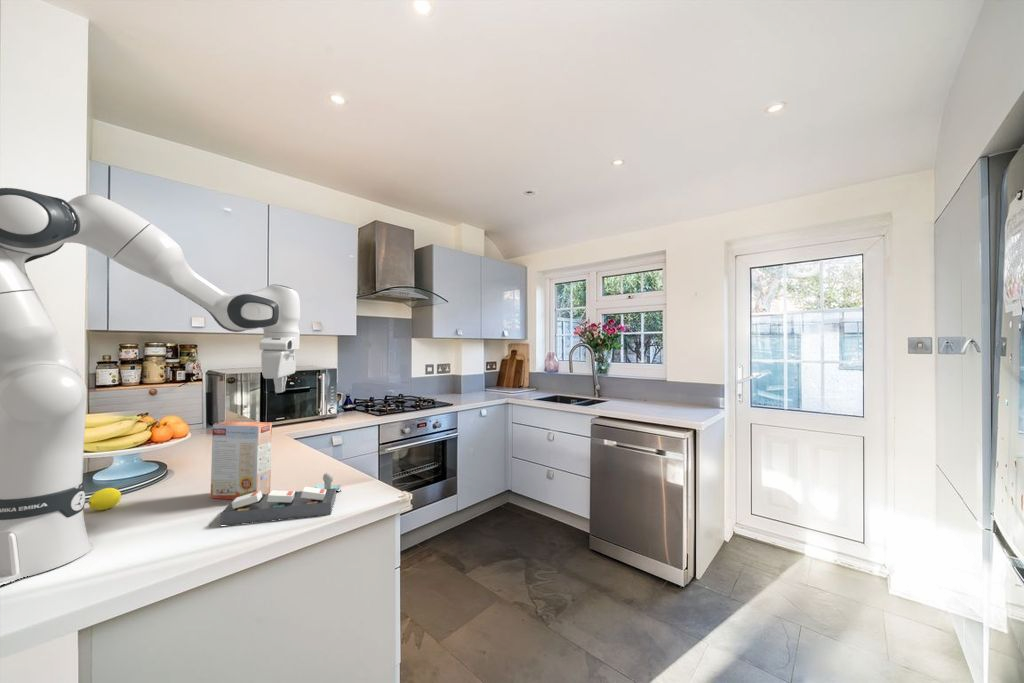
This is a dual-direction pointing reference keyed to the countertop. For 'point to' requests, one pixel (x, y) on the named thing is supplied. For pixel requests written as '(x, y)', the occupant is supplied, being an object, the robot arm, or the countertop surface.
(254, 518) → the power strip
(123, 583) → the countertop surface
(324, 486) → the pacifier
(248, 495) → the rocker
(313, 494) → the rocker
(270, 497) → the rocker
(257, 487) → the cracker box
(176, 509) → the countertop surface
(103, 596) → the countertop surface
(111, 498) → the lemon
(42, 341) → the robot arm
